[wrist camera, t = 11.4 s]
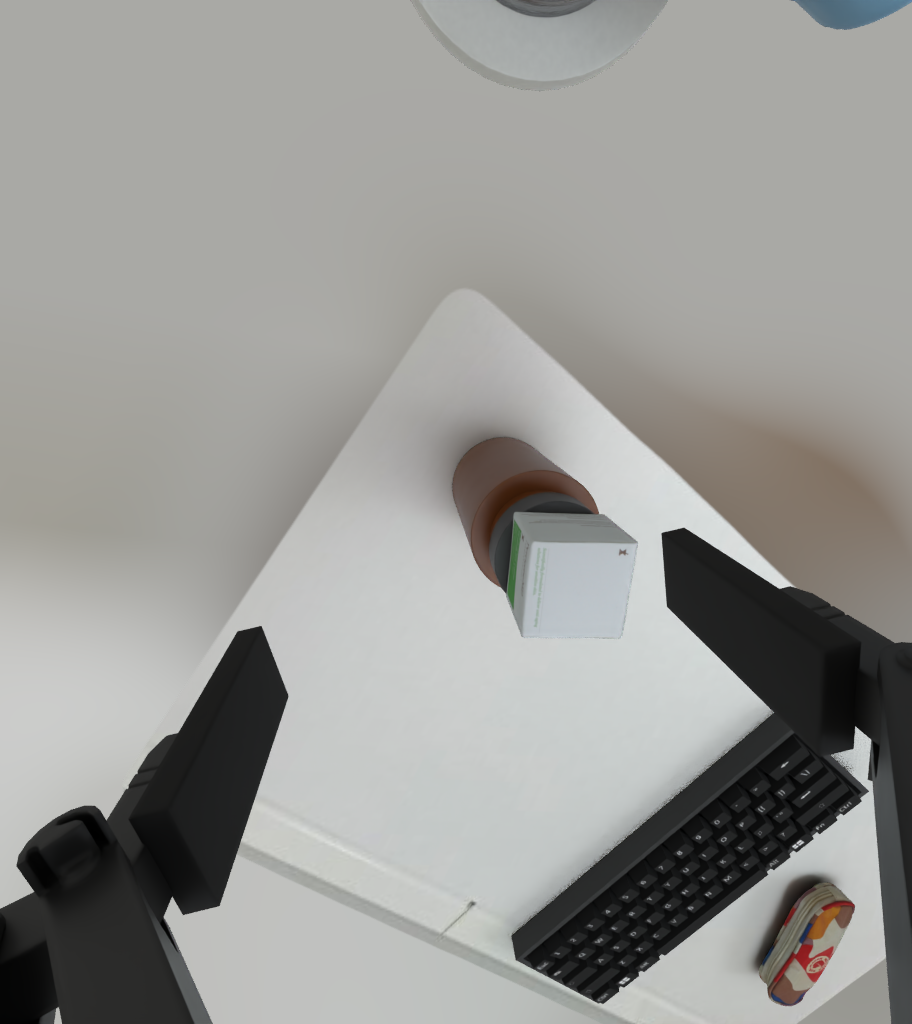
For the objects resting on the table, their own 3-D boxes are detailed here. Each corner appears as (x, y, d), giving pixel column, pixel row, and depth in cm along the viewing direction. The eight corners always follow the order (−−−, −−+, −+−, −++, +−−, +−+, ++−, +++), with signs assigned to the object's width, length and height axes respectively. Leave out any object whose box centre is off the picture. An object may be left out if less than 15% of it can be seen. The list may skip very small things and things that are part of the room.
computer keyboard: (591, 979, 70) (602, 1014, 66) (511, 936, 65) (518, 970, 62) (850, 773, 62) (877, 799, 59) (779, 708, 58) (805, 732, 54)
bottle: (443, 447, 45) (467, 503, 28) (542, 428, 45) (620, 472, 29) (461, 540, 47) (491, 637, 31) (553, 521, 48) (630, 608, 32)
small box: (510, 509, 29) (531, 539, 24) (606, 511, 30) (644, 541, 25) (502, 598, 31) (520, 642, 26) (592, 598, 31) (625, 642, 27)
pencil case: (861, 885, 69) (894, 924, 65) (782, 978, 74) (808, 1021, 69) (799, 869, 67) (830, 908, 62) (722, 966, 72) (745, 1009, 67)
